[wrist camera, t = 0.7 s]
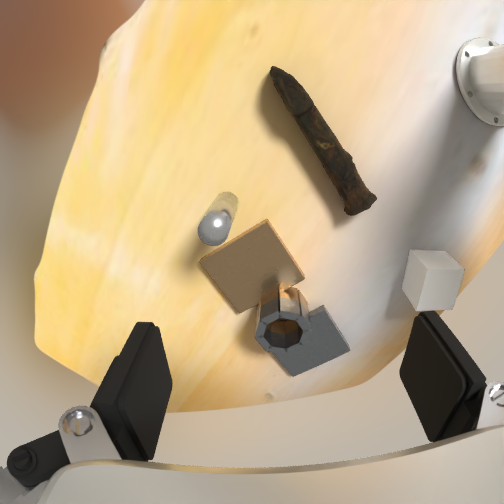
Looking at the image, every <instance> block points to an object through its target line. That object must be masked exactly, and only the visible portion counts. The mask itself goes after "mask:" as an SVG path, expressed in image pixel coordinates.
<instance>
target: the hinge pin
mask: <svg viewBox="0 0 504 504" xmlns="http://www.w3.org/2000/svg"><path fill="white" fill-rule="evenodd" d="M238 205H239V202H238V199H237V197H236V196H235V195H234V194H233V193H231V192H223V193H221V194H219V195H218V196H217V198H216V199H215V201H214V202H213V204H212V206H211V207H210V209H209V210H208V212H207V213H206V215H205V216H204V218H203V219H202V221H201V222H200V224H199V226H198V235H199V237H200V239H201V240H202V241H203V242H204V243H205V244H207V245H210V246H217V245H220V244H222V243H223V242H225V240H226V239H227V237H228V234H229V231H230V228H231V225H232V222H233V220H234V217H235V214H236V211H237V208H238Z"/></svg>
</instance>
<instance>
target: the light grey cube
mask: <svg viewBox="0 0 504 504" xmlns="http://www.w3.org/2000/svg"><path fill="white" fill-rule="evenodd" d="M464 271H465V269H464V268H463V267H462V266H461V265H460V264H459V263H458V262H457V261H456V260H455V259H454V258H452V257H451V256H450V255H449V254H448V253H447V252H446V251H437V250H412V249H410V252H409V257H408V261H407V266H406V270H405V275H404V279H403V283H402V287H401V289H402V290H403V292H404V293H405V295H406V296H407V298H408V299H409V301H410V302H411V304H412V305H413V307H414V309H415V310H416V311H431V310H450V309H453V307H454V304H455V301H456V298H457V295H458V291H459V288H460V285H461V282H462V278H463V275H464Z"/></svg>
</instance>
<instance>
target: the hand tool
mask: <svg viewBox="0 0 504 504" xmlns="http://www.w3.org/2000/svg"><path fill="white" fill-rule="evenodd" d="M270 75H271V77H272V79H273V81H274V85H275V87H276V89H277V91H278V92H279V94H280V95H281V97H282V98H283V101H284V103H285V105H286V107H287V109H288V110H289V112H290V113H291V114H292V116H293V117H294V119H295V120H296V122H297V123H298V125H299V127H300V128H301V130H302V132H303V133H304V135H305V136H306V138H307V140H308V141H309V143H310V145H311V146H312V148H313V150H314V151H315V153H316V154H317V156H318V157H319V159H320V161H321V163H322V164H323V167H324V168H325V170H326V172H327V174H328V176H329V177H330V179H331V180H332V182H333V184H334V185H335V186H336V188H337V190H338V192H339V194H340V195H341V197H342V199H343V201H344V203H345V207H344V211H345V212H346V213H347V214H348V215H351V216H352V215H356V214H358V213H360V212H362V211H364V210H367V209H369V208H370V207H371V205H372V204H373V203H374V202H375V201H376V200H377V197H376V196H375V195H374V194H373V193H371V192H370V191H369V190H368V189H367V188H366V186H365V184H364V183H363V181H362V179H361V178H360V176H359V174H358V172H357V169H356V167H355V164H354V163H353V161H352V156H351V155H350V154H349V153H348V152H346V151H345V150H344V149H343V148H342V146H341V144H340V143H339V141H338V139H337V138H336V136H335V135H334V133H333V132H332V130H331V129H330V127H329V126H328V125H327V123H326V122H325V120H324V119H323V117H322V115H321V114H320V112H319V111H318V109H317V108H316V106H315V105H314V103H313V101H312V99H311V98H310V96H309V95H308V93H307V92H306V91H305V89H304V88H303V87H302V86H301V85H300V84H299V83H298V81H297V80H296V79H295V78H294V77H293V76H292V75H290V74H288V73H286V72H285V71H284V70H282V69H280V68H277V67H275V66H272V67H271V70H270Z"/></svg>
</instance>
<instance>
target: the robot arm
mask: <svg viewBox="0 0 504 504" xmlns="http://www.w3.org/2000/svg"><path fill="white" fill-rule="evenodd" d="M456 74H457V80H458V84H459V88H460V91H461V93H462V96H463V98H464V100H465V101H466V103H467V105H468V107H469V108H470V109H471V110H472V112H473V113H474V114H475V115H476V116H477V117H478V118H479V119H481V120H482V121H484V122H485V123H488V124H490V125H495V126H504V44H502V45H499V44H498V43H496V42H495V41H493V40H491V39H487V38H480V37H479V38H474V39H471V40H469V41H467V42H466V43H465V44H463V46H462V47H461V49H460V51H459V53H458V56H457V62H456ZM400 378H401V380H402V382H403V384H404V387H405V389H406V390H407V393H408V395H409V397H410V399H411V402H412V404H413V406H414V408H415V410H416V413H417V415H418V417H419V419H420V422H421V423H422V426H423V428H424V431H425V433H426V435H427V437H428V440H429V441H430V442H433V443H429V444H426V445H422V446H418V447H414V448H410V449H406V450H402V451H397V452H393V453H388V454H383V455H378V456H372V457H367V458H361V459H355V460H348V461H342V462H333V463H326V464H315V465H304V466H290V467H269V468H221V467H202V466H185V465H173V464H163V463H155V462H148V460H152V459H153V457H154V454H155V450H156V446H157V442H158V439H159V435H160V431H161V427H162V423H163V420H164V416H165V412H166V409H167V405H168V401H169V398H170V394H171V391H172V378H171V374H170V370H169V366H168V362H167V358H166V354H165V350H164V346H163V342H162V338H161V333H160V329H159V327H158V326H155V325H154V323H152V322H137V323H136V325H135V326H134V328H133V330H132V332H131V334H130V336H129V338H128V340H127V341H126V343H125V345H124V347H123V349H122V351H121V353H120V355H119V356H116V357H115V358H114V360H113V361H112V363H111V365H110V367H109V369H108V371H107V373H106V375H105V377H104V379H103V381H102V383H101V385H100V387H99V389H98V391H97V393H96V395H95V397H94V399H93V401H92V403H91V405H90V407H87V406H77V407H73V408H71V409H69V410H67V411H66V412H65V413H64V414H63V415H62V416H61V418H60V419H59V424H58V427H59V430H57V431H55V432H53V433H50V434H48V435H46V436H43V437H41V438H38V439H36V440H34V441H31V442H29V443H27V444H24V445H21V446H19V447H17V448H16V449H14V450H13V451H12V452H11V453H10V455H9V456H8V459H7V467H6V468H5V469H3V468H2V467H0V504H504V382H499V381H498V382H492V383H490V384H489V385H488V386H487V385H486V383H485V381H486V377H485V376H484V374H483V373H482V372H481V370H480V369H479V368H478V366H477V365H476V363H475V362H474V361H473V359H472V358H471V356H470V355H469V354H468V352H467V351H466V350H465V348H464V347H463V346H462V344H461V343H460V342H459V340H458V339H457V338H456V337H455V335H454V334H453V333H452V331H451V330H450V329H449V328H448V326H447V325H446V324H445V323H444V321H443V320H442V319H441V318H440V316H439V315H438V314H437V313H436V312H435V311H424V312H420V313H419V315H418V316H416V317H415V319H414V323H413V327H412V330H411V334H410V338H409V341H408V345H407V348H406V352H405V355H404V358H403V361H402V364H401V367H400Z"/></svg>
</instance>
